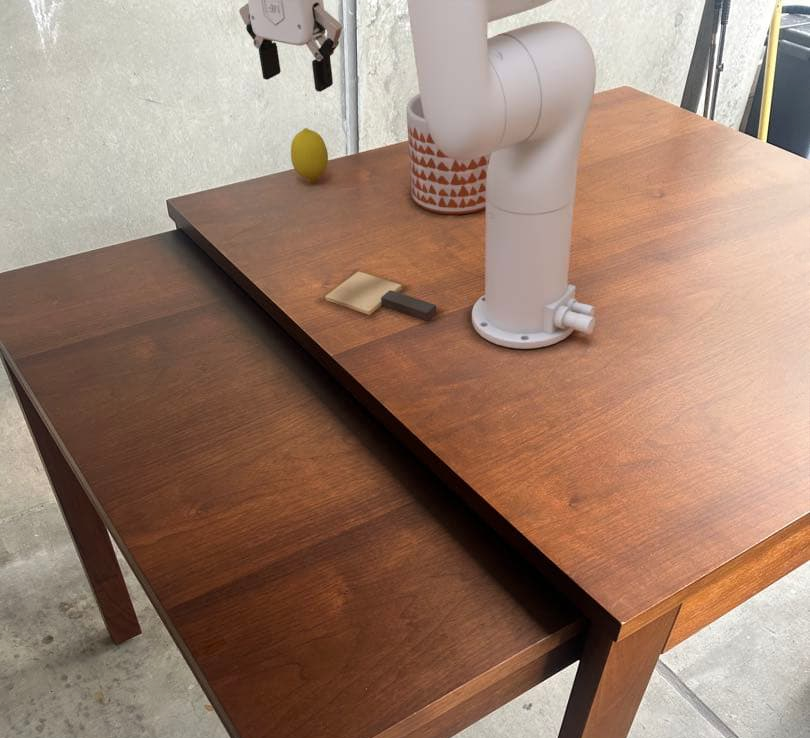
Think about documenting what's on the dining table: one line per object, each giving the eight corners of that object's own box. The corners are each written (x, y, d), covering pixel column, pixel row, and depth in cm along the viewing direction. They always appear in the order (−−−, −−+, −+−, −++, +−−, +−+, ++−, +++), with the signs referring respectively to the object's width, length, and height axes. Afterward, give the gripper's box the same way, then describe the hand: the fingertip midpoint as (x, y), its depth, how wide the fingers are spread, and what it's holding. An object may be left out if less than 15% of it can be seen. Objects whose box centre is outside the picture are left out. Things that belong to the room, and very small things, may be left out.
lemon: (325, 190, 131) (318, 136, 125) (290, 189, 132) (282, 135, 126) (334, 174, 134) (328, 121, 129) (300, 173, 135) (293, 120, 130)
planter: (490, 220, 121) (492, 127, 112) (398, 211, 125) (392, 119, 115) (514, 177, 130) (517, 87, 121) (427, 169, 133) (424, 81, 124)
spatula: (447, 303, 107) (447, 295, 106) (415, 331, 104) (415, 322, 103) (358, 274, 113) (357, 266, 112) (325, 300, 110) (324, 291, 109)
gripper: (209, -60, 112) (235, 80, 124) (311, -45, 105) (328, 102, 117) (248, -75, 116) (269, 63, 128) (349, -61, 109) (362, 83, 121)
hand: (297, 82), depth 123 cm, fingers open, 9 cm apart
